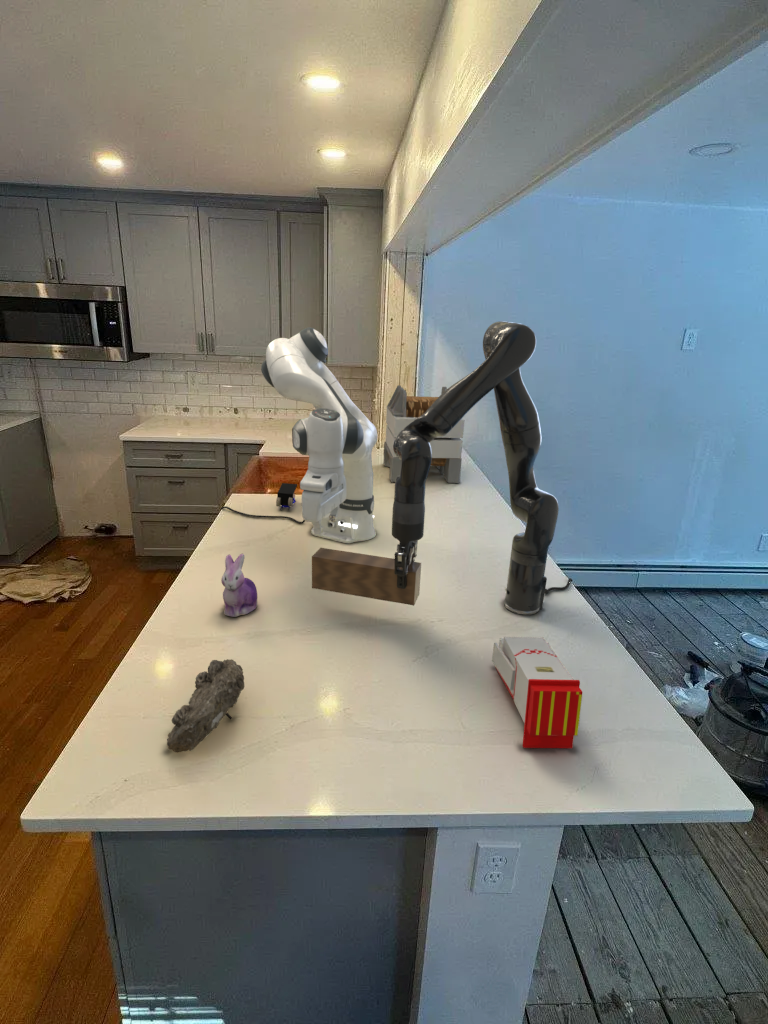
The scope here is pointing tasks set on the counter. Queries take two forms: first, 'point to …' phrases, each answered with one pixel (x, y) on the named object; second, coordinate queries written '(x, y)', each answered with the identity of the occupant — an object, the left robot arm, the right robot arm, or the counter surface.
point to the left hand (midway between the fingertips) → (326, 527)
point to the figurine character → (286, 495)
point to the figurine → (237, 589)
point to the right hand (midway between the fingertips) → (404, 581)
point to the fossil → (206, 705)
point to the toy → (539, 691)
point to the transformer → (442, 447)
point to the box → (363, 576)
